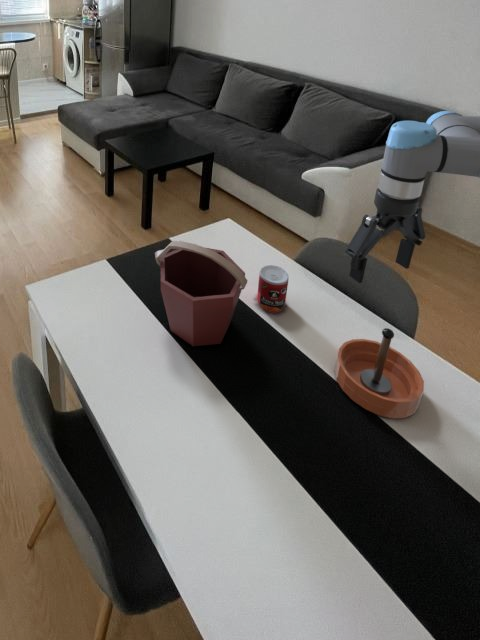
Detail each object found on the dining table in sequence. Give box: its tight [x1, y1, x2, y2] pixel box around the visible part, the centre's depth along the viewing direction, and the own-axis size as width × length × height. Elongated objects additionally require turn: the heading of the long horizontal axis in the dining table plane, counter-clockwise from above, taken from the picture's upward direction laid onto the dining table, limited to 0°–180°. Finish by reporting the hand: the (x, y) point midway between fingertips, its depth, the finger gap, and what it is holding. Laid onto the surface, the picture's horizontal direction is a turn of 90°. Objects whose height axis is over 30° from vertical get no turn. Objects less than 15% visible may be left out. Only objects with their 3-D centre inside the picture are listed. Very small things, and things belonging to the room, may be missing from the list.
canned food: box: [256, 264, 290, 314], centre depth 125 cm, size 8×8×11 cm
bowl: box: [334, 338, 425, 419], centre depth 100 cm, size 16×16×6 cm
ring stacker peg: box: [360, 327, 395, 396], centre depth 97 cm, size 6×6×17 cm
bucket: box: [154, 240, 249, 347], centre depth 118 cm, size 24×22×25 cm
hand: (379, 272), depth 99 cm, fingers open, 13 cm apart
